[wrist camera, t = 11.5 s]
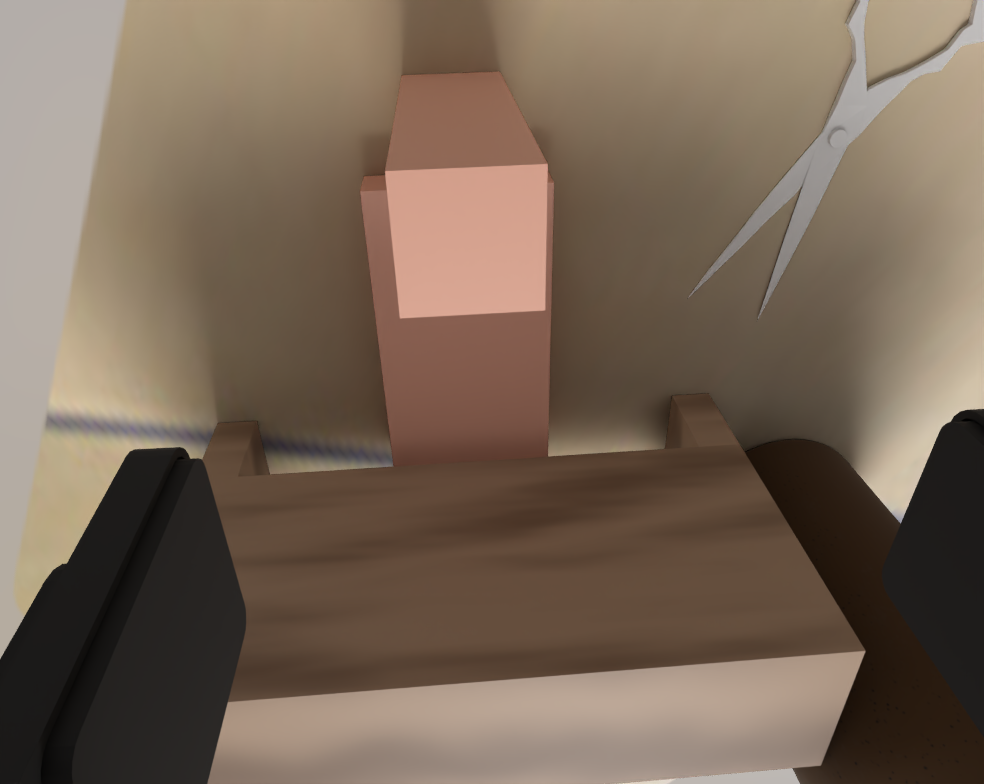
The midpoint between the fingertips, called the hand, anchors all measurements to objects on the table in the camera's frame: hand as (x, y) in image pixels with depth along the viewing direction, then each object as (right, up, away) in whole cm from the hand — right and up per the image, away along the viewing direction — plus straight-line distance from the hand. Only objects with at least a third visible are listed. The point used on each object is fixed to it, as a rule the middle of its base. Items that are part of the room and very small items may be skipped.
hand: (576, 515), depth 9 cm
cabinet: (-2, -2, +31) cm, 31 cm away
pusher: (-3, +7, +25) cm, 26 cm away
